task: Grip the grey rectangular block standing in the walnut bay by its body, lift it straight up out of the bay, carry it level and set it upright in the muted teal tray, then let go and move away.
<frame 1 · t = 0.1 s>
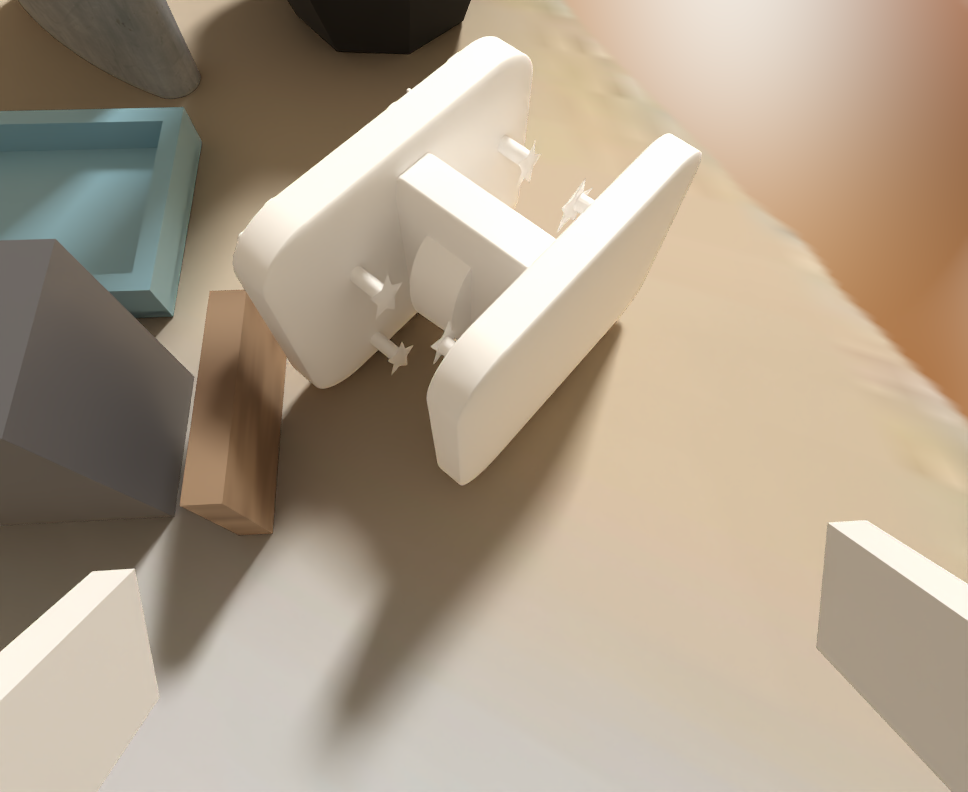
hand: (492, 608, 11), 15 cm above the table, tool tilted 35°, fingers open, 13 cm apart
cable organizer: (472, 341, 31), on the table
teal tray: (31, 227, 33), on the table
grey rectangular block: (55, 449, 28), on the table
walnut bay: (54, 448, 28), on the table
hip flask: (103, 43, 39), on the table
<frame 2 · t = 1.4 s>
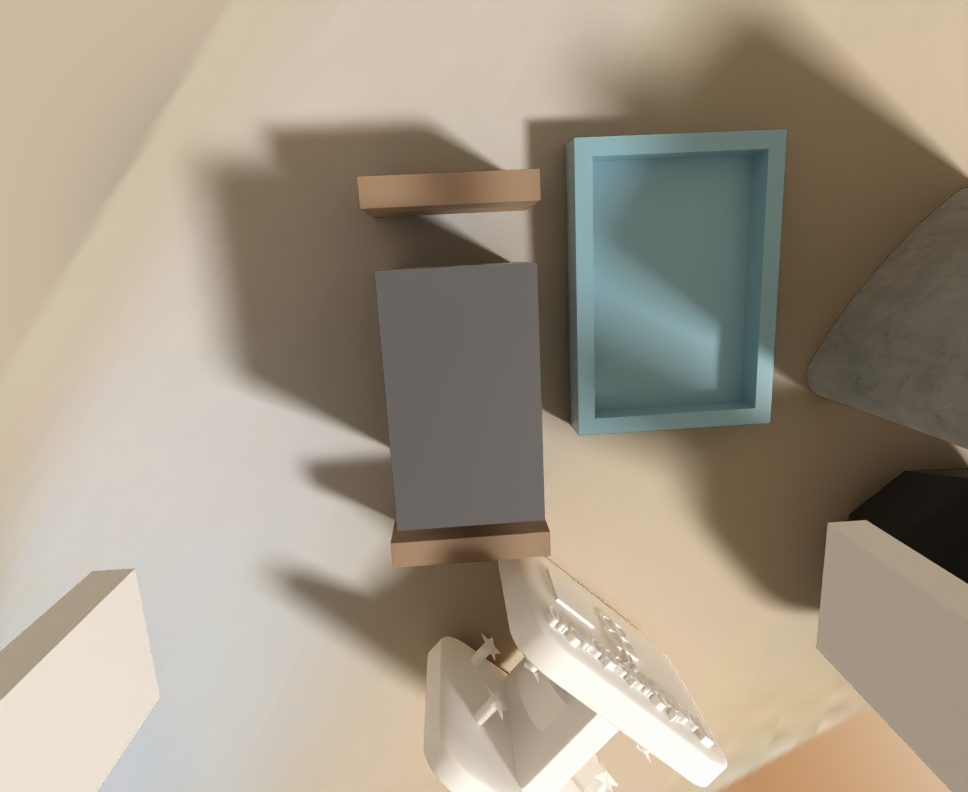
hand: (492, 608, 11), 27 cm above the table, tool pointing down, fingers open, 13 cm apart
bottle: (918, 542, 43), on the table
cable organizer: (545, 635, 43), on the table
teal tray: (663, 287, 37), on the table
grey rectangular block: (459, 362, 38), on the table
walnut bay: (459, 362, 38), on the table
hip flask: (890, 290, 39), on the table
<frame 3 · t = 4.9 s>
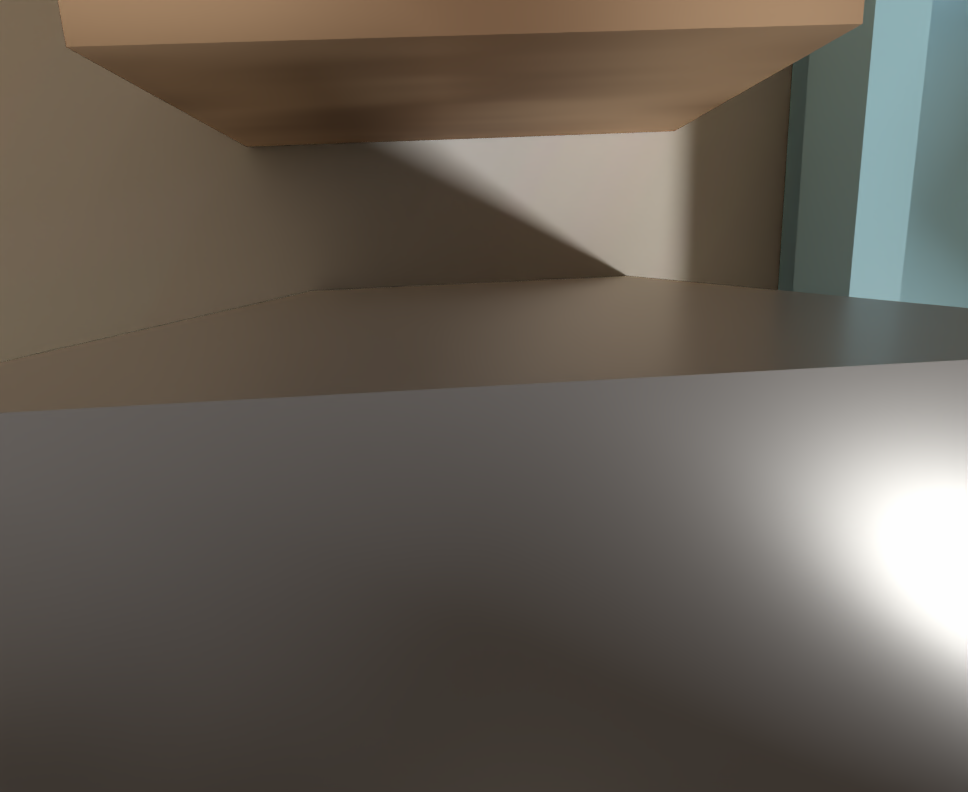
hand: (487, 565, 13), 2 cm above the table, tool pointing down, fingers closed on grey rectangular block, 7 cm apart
grey rectangular block: (483, 532, 15), on the table, touching gripper
walnut bay: (482, 533, 15), on the table
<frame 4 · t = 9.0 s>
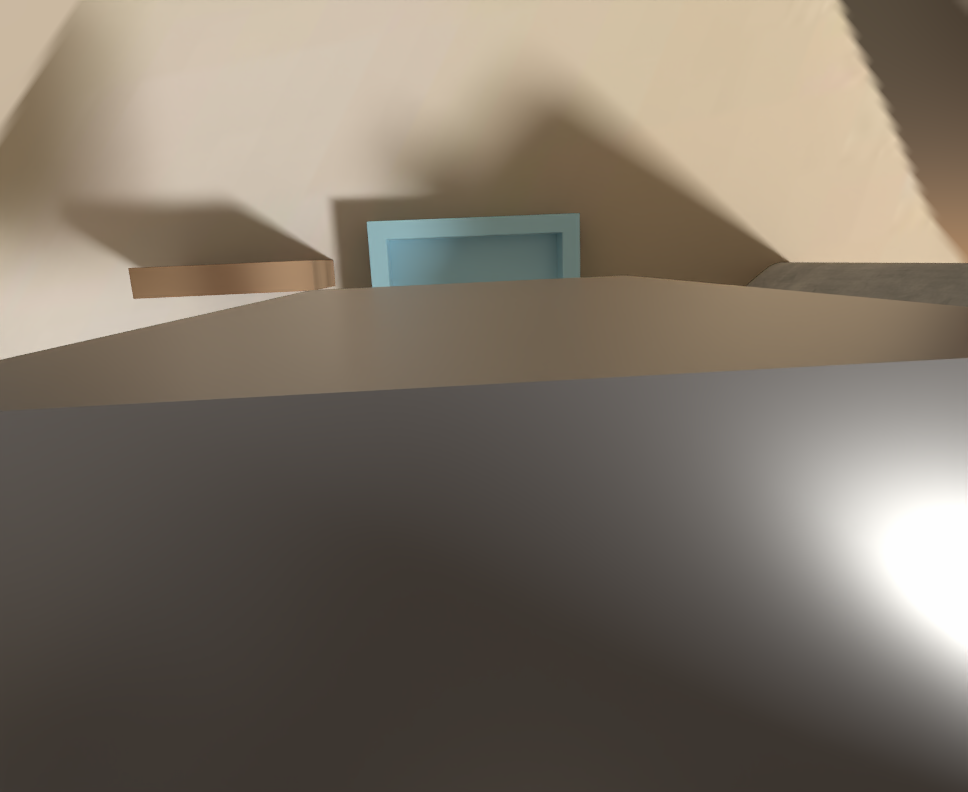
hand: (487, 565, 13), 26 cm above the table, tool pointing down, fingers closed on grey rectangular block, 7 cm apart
teal tray: (478, 359, 38), on the table
grey rectangular block: (482, 532, 15), point 24 cm above the table, touching gripper
walnut bay: (278, 432, 38), on the table
hip flask: (707, 362, 39), on the table
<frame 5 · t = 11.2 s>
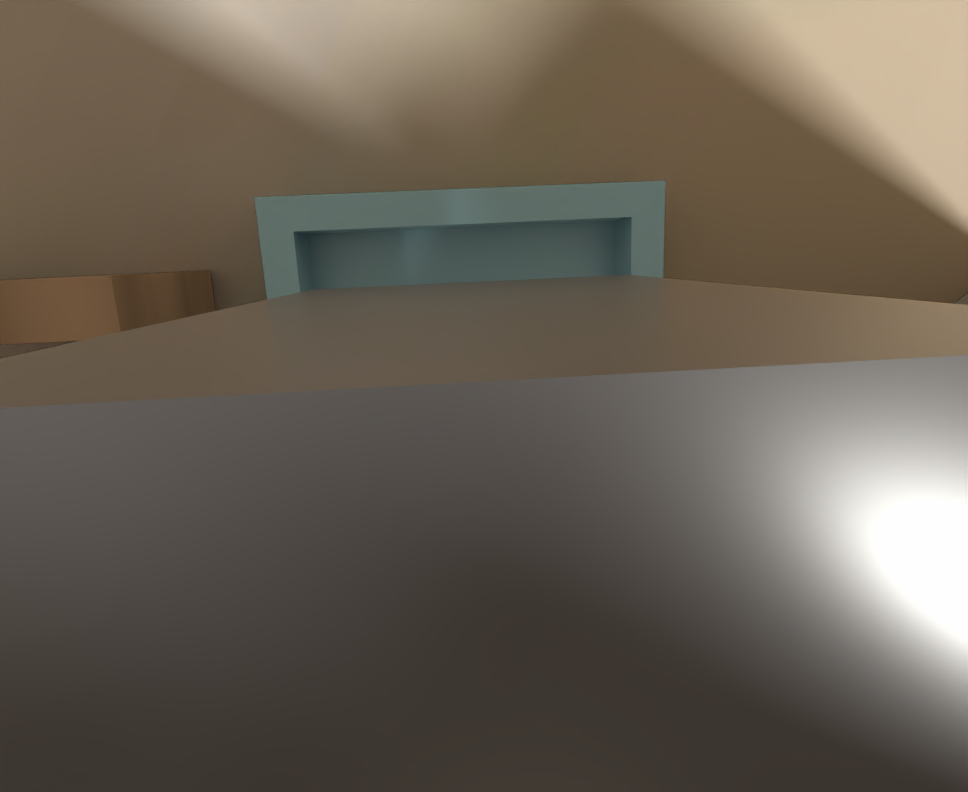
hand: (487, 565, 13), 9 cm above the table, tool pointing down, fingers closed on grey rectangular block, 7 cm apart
teal tray: (473, 441, 22), on the table
grey rectangular block: (483, 531, 15), point 7 cm above the table, touching gripper
walnut bay: (127, 565, 22), on the table
when the fingers open (4 cm above the table, at t = 13.2 s): grey rectangular block drops 1 cm, resting on teal tray.
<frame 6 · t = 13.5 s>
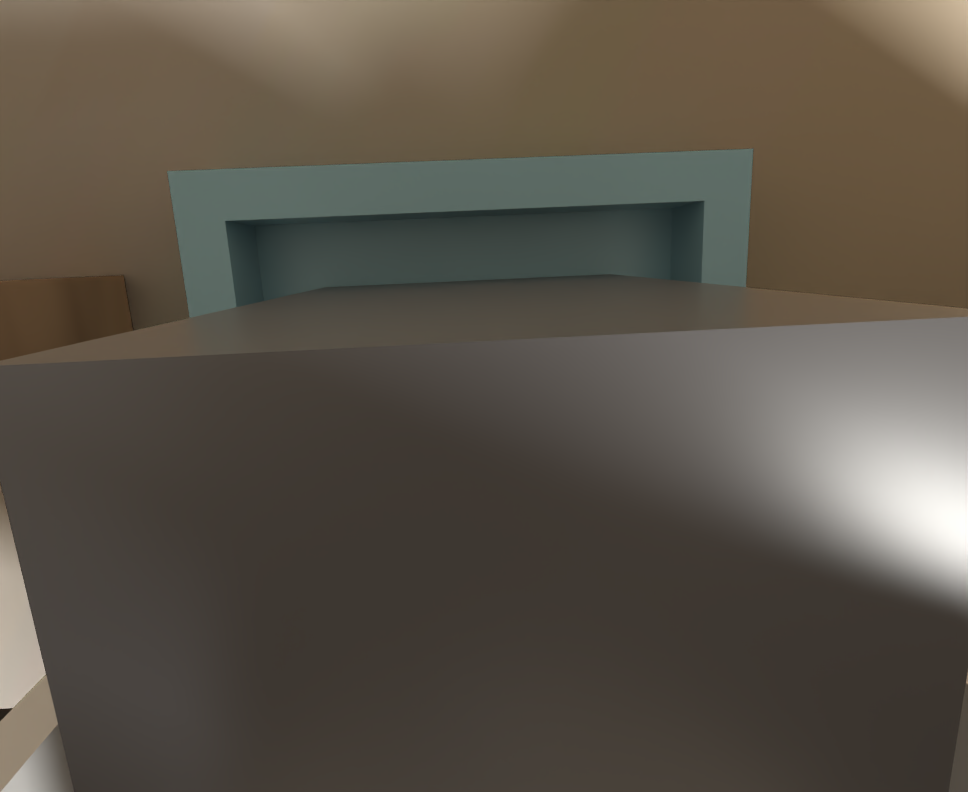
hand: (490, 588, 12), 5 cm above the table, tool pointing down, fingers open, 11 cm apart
teal tray: (479, 500, 17), on the table
grey rectangular block: (479, 508, 16), point 1 cm above the table, touching teal tray
walnut bay: (27, 661, 17), on the table
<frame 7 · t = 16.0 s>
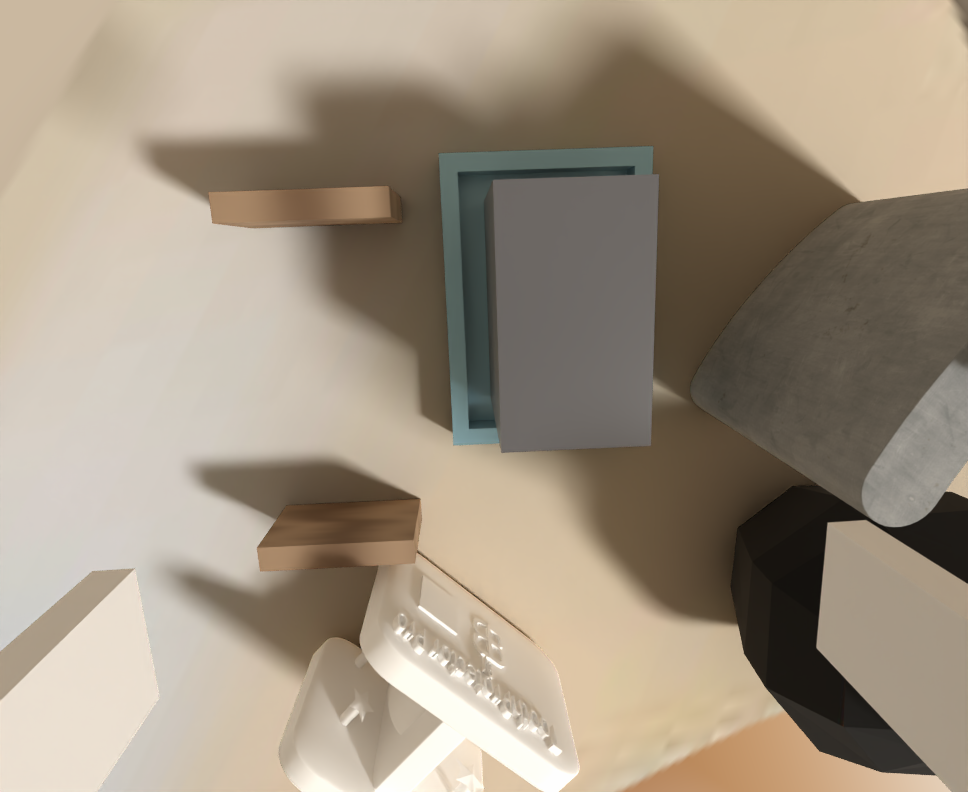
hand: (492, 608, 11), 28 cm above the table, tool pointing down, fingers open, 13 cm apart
bottle: (810, 557, 43), on the table
cable organizer: (436, 638, 44), on the table
teal tray: (542, 300, 38), on the table
grey rectangular block: (543, 300, 37), point 1 cm above the table, touching teal tray
walnut bay: (341, 371, 38), on the table
hip flask: (774, 306, 39), on the table
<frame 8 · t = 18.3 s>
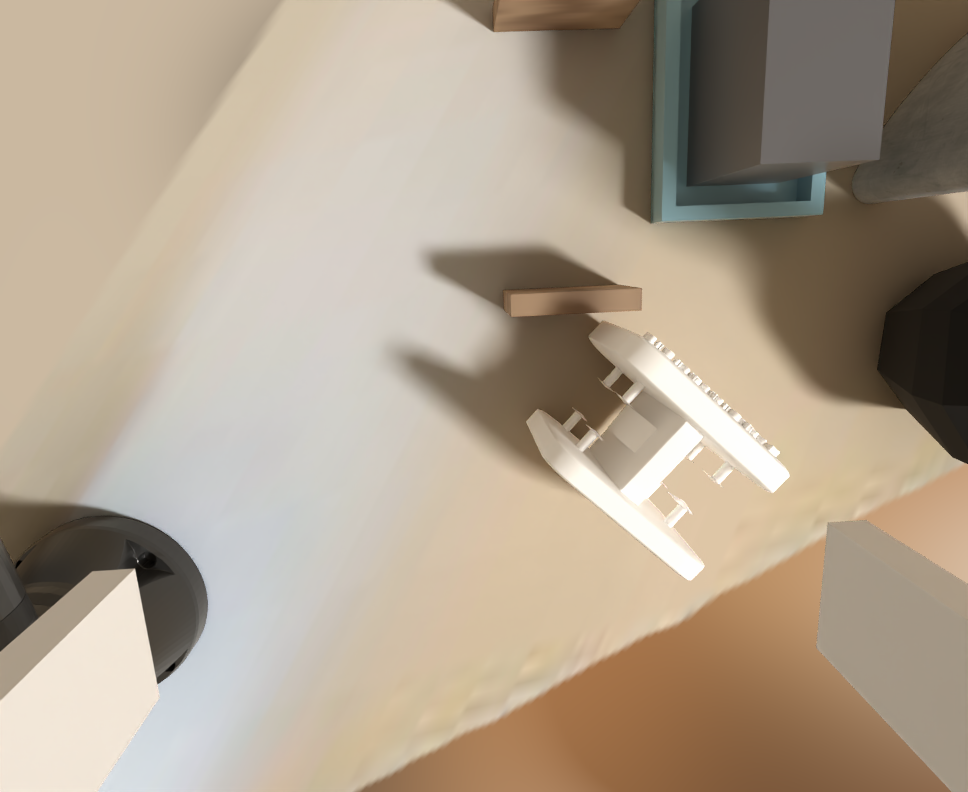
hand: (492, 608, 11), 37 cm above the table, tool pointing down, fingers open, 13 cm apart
bottle: (945, 342, 50), on the table
cable organizer: (622, 419, 50), on the table
teal tray: (732, 100, 44), on the table
grey rectangular block: (736, 98, 44), point 1 cm above the table, touching teal tray
walnut bay: (558, 164, 45), on the table
hip flask: (925, 108, 45), on the table
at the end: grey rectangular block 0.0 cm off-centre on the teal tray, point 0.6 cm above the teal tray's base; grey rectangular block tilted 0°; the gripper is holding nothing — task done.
